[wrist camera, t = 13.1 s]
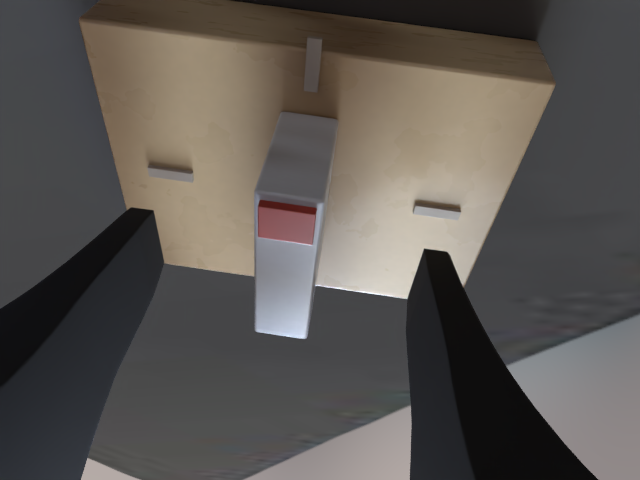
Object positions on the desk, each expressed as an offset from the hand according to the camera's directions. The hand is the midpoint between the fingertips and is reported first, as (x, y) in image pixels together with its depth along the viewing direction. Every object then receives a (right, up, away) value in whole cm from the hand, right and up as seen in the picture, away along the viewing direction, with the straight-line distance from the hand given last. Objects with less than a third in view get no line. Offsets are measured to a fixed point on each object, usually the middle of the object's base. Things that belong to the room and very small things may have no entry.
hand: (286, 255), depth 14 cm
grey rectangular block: (0, +2, +2) cm, 3 cm away
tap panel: (+1, +4, +4) cm, 5 cm away
